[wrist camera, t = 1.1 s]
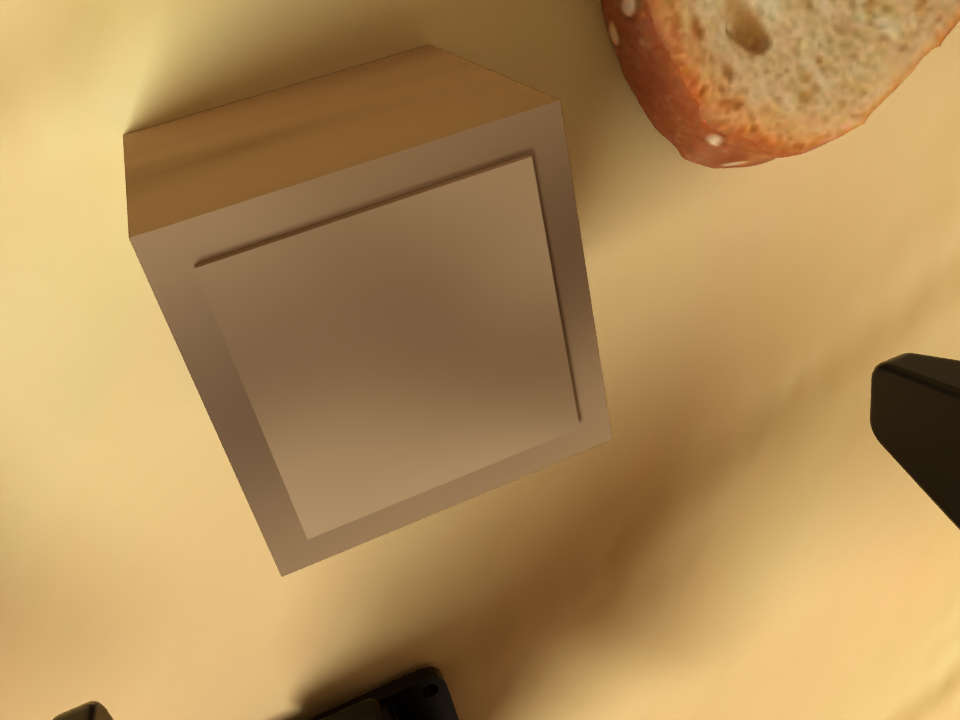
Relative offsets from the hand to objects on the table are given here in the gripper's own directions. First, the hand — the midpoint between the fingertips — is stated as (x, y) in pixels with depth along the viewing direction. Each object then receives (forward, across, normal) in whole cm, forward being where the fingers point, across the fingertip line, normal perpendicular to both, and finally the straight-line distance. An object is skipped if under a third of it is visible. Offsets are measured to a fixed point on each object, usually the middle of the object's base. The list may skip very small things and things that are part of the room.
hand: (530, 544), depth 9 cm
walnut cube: (+10, 0, 0) cm, 11 cm away
